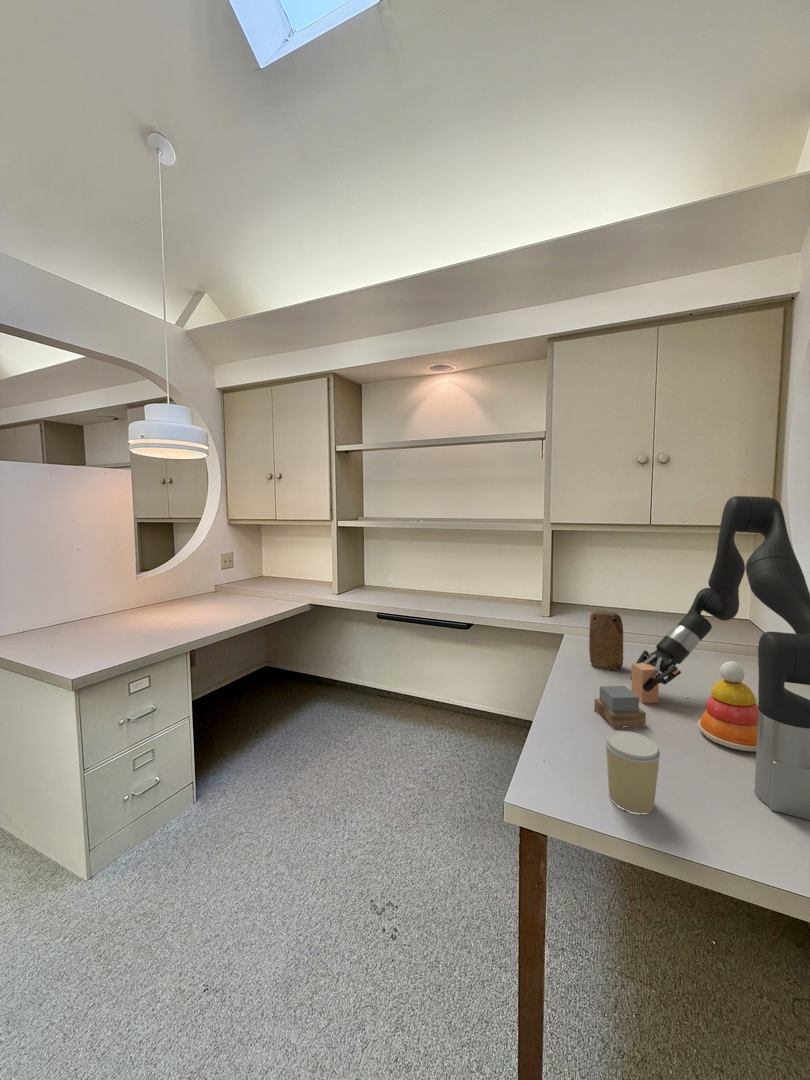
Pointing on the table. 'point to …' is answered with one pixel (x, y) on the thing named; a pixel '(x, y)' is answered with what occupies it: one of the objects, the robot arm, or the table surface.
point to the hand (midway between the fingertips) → (638, 685)
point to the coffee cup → (632, 770)
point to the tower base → (620, 716)
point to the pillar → (639, 678)
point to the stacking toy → (731, 711)
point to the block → (606, 640)
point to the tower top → (619, 699)
